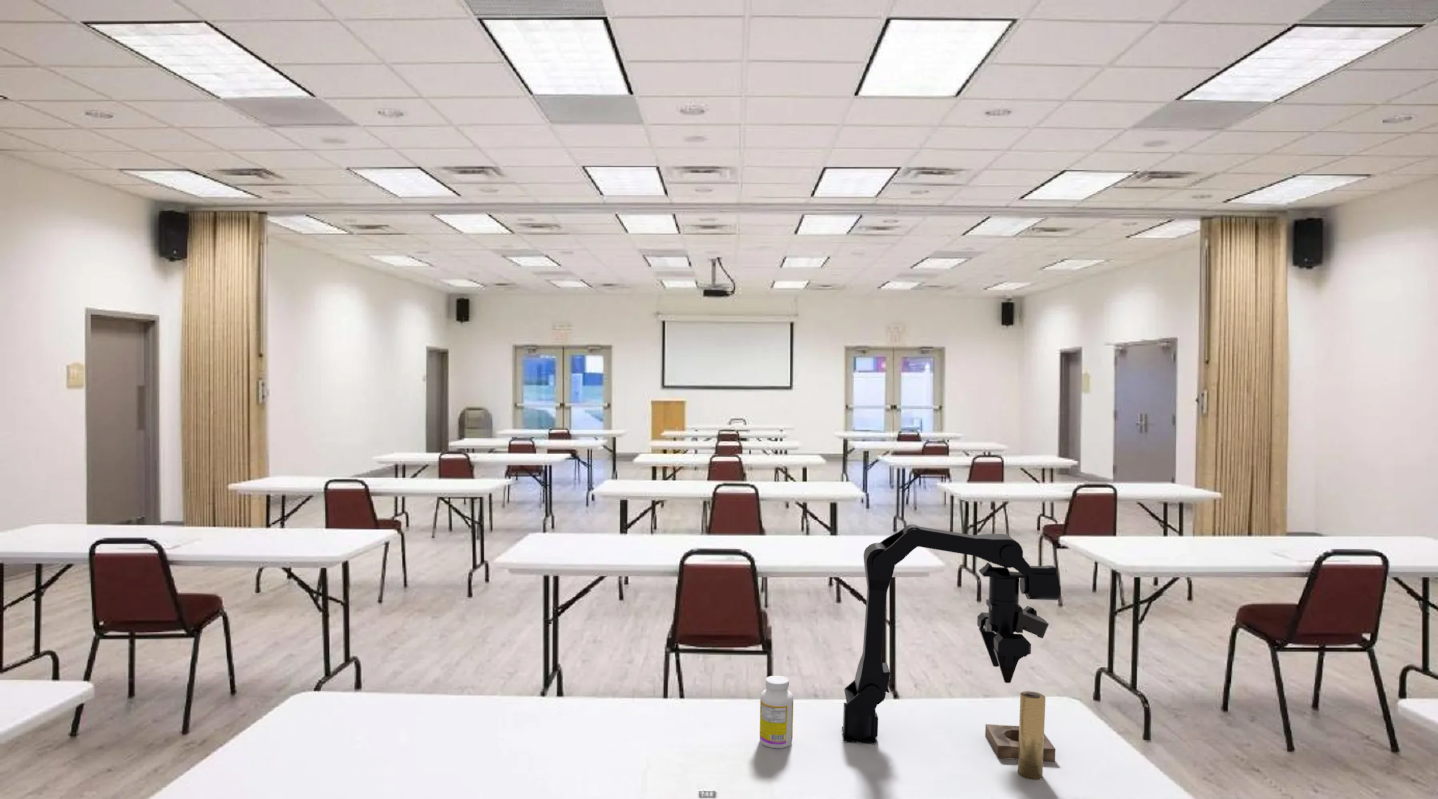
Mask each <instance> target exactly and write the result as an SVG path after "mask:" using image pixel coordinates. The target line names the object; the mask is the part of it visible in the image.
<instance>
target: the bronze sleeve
mask: <svg viewBox="0 0 1438 799" xmlns="http://www.w3.org/2000/svg"><path fill="white" fill-rule="evenodd" d="M1019 695H1020V698H1019V699H1020V700H1019V722H1018V723H1019V725H1018V726H1019V746H1018V759H1017V774H1018V775H1019V776H1020V777H1022V778H1023V779H1026V780H1030V781H1031V780H1032V781H1038V780H1041V779H1042V778H1043V772H1044V771H1043V770H1044V761H1043V748H1044V734H1045V720H1046V719H1045V716H1046V696H1045V695H1044V694H1043V693H1041V692H1037V691H1030V690H1029V691H1027V690H1026V691H1025V690H1024V691H1022V692H1020V694H1019Z"/></svg>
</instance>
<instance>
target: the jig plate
mask: <svg viewBox="0 0 1438 799" xmlns="http://www.w3.org/2000/svg"><path fill="white" fill-rule="evenodd" d="M984 732H985V733H984V736H985V738H986V740H987V742H988V744H989V746H990V748H991V750H992V751H993V753H994V754H995V756H996V758H997V759H1007V760H1008V759H1009V760H1018V746H1019V725H1009V724H1008V725H1004V724H993V723H992V724H988V723H985V730H984ZM1043 762H1053V763H1054V762H1056V747H1054V745H1053V744H1052V742H1051V741H1050V739H1049V737H1048V736H1047V735H1046V734H1045V733H1044V748H1043Z"/></svg>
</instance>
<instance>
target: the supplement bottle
mask: <svg viewBox="0 0 1438 799" xmlns="http://www.w3.org/2000/svg"><path fill="white" fill-rule="evenodd" d="M789 687H790V680H789V678H788V677H786V676H782V675H770V676H767V677H765V689H763V691H761V694H760V696H759V697H760V701H759V702H760V704H759V705H760V706H759V711H760V712H759V741H760V743H761V744H762V745H763V746H765V747H767V748H771V749H784V748H786V747H789V746H790V745H792V743H793V736H794V735H793V730H794V729H793V728H794V723H793V722H794V695H793V693H792V692H791V691H790V690H789Z"/></svg>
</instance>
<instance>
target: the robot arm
mask: <svg viewBox="0 0 1438 799" xmlns="http://www.w3.org/2000/svg"><path fill="white" fill-rule="evenodd" d="M917 548H926V549H931V550H936V551H945V552H948V553H949V552H950V553H955V554H961V555H966V556H967V555H968V556H972V557H973V556H974V557H976V558H979V559H981V560H984V561H986V564H985V565H984V566H982V567H980V569H978V572H979V574H981V575H982V577H984V578H985V577H986V578H987V577H988V578H989V579H988V581H989V583H988V598H987V599H985V600H986V603H985V604H986V606H987V607H988V612H981V613H979V615H977V620H976V624H977V627H978V630H979V633H980V636H981V638H982V640H983V643H984V645H985V649H986V651H987V653H988V656H989V659H990V662H991V665H992V666H993V667H996V668H997V667H998V668H999V669H1000V673H1001V676H1002V678H1003V682H1004V683H1005V684H1011V683H1012V680H1013V677H1014V675H1015V671H1016V668H1017V665H1018V663H1019V661H1020V660H1021V659H1022V658H1024V657H1025V658H1026V657H1027V656H1028V655H1030V654H1032V644H1031V643H1030V641H1029V640H1028V639H1027V638H1026V637H1025V636H1024V635H1023V633H1024V631H1025V632H1027V633H1030V634H1033V635H1035V636H1037V637H1038V638H1040V639H1044V637H1045V634H1046V632H1047V630H1048V627H1049V622H1047V621H1046V620H1045V619H1044V618H1042V617H1041V616H1040V615H1038V612H1037V610H1036V609H1035V607H1032V606H1029V605H1026V607H1025V608H1023V607H1022V606H1021V605H1020V604H1019V603H1020V600H1019V599H1020V598H1019V596H1020V594H1022V595H1024V596H1025V598H1026V599H1027V600H1033V601H1034V600H1035V601H1036V600H1038V601H1039V600H1040V601H1058V600H1059V598H1060V597H1061V585H1060V578H1059V576H1058V572H1057V571H1058V570H1057V569H1058V568H1057V567H1055V565H1050V564H1049V565H1030V563H1028V562H1027V561H1026V559H1025V558H1024V550H1023V548H1022V545H1021V544H1020V542H1018V541H1016V540H1015V539H1014V538H1012V537H1011V536H1009V535H1008V534H1005V533H985V534H973V535H972V534H967V533H960V532H956V531H955V532H954V531H949V530H943V529H937V528H929V527H924V526H919V525H917V524H915V523H913V524H910V523H909V524H908V525H906V526H904V528H902V529H900V530H899V531H897V532H895V533H893V534H892V535H889V536H888V537H886V538H885V539H883V540H882V541H880V542H874V543H870V544H869V545H868V546H867V547H865V549H864V552H863V564H864V572H865V581H866V587H867V590H866V601H865V617H864V629H863V630H864V632H863V644H862V646H863V648H862V653H861V656H860V659H859V662H858V664H857V668H856V672H855V677H854V680H852V681H851V683H849V684H848V685H847V686H846V687H844V689H843V690H844V695H845V696H844V697H845V702H843V713H842V715H843V717H842V719H843V720H842V726H841V733H842V732H843V733H842V738H843V739H844V740H843V739H842V740H843V742H845V741H847V742H846V743H861V744H876V743H877V739H876V738H878V734H879V733H878V732H879V716H878V713H877V712H876V708H877V706H879V705H880V704H881V703H882V702H884V701H885V699H886V696H887V693H888V694H889V693H890V689H889V681H890V677H891V671H890V669H889V665H888V663H887V662H883V648H884V647H883V646H884V633H885V618H886V606H887V605H886V604H887V594H888V590H889V587H890V585H891V582H892V579H893V576H894V571H895V567H896V565H897V564H899V563H900V562H902V561H903V560H904V559H906V557H907V556H908V555H909V554H911V553H912V552H913V550H915V549H917ZM991 563H992V564H994V565H997V566H993V565H992V564H991ZM1012 568H1013V569H1014V570H1016V571H1010V570H1009V569H1012Z"/></svg>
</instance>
